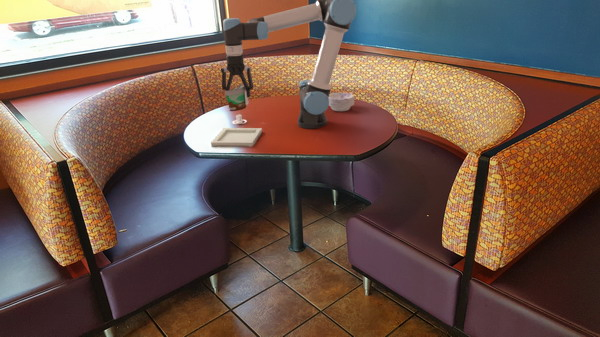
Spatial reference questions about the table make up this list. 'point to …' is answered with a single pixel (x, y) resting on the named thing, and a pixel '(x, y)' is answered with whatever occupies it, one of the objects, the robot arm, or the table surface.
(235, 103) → the food container
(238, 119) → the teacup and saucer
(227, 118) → the table surface
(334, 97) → the paper bowls
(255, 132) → the white square tray
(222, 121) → the table surface
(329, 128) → the table surface
